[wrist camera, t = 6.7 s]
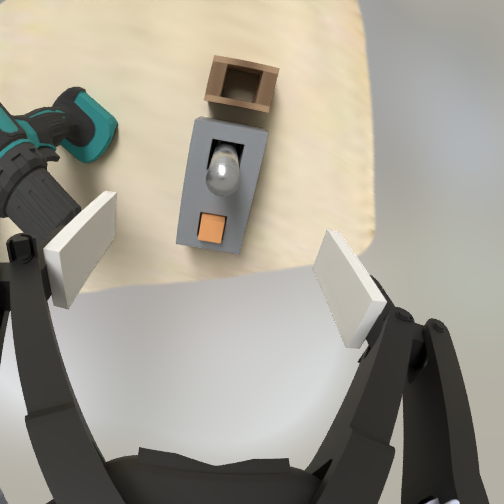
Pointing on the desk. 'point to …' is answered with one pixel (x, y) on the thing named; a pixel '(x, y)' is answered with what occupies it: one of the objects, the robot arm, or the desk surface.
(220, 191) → the cylinder
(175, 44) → the desk surface
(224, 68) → the hollow brown square tube
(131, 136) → the desk surface
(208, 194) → the socket block
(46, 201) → the power drill
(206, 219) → the plunger
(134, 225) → the desk surface
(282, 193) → the desk surface
